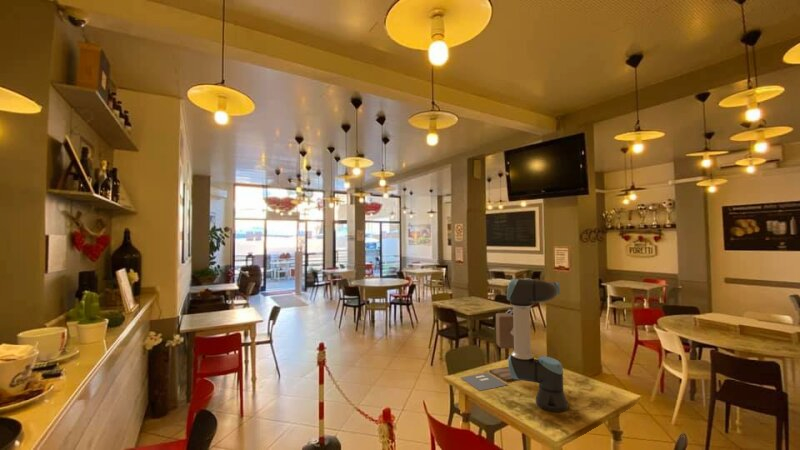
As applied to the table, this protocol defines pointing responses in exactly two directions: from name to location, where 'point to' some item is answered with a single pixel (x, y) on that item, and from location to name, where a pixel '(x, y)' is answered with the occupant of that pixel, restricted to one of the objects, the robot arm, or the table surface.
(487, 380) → the gray tile
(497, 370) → the walnut board
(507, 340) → the wooden block
